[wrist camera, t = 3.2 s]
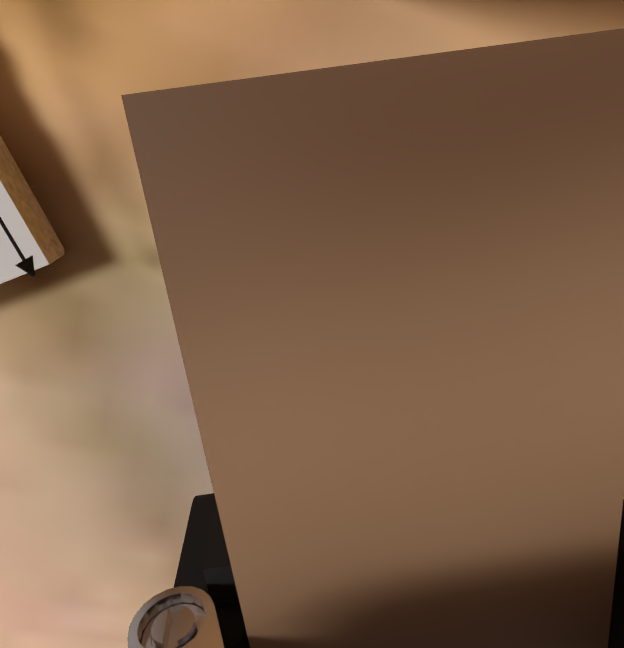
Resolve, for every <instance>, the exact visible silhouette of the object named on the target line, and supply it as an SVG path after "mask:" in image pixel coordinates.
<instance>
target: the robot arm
mask: <svg viewBox="0 0 624 648" xmlns="http://www.w3.org/2000/svg"><path fill="white" fill-rule="evenodd" d="M128 648H250V645H249V641H248V636H247V632H246V628H245V623H244V619H243V615H242V611H241V606H240V602H239V598H238V593H237V589H236V585H235V581H234V576H233V572H232V568H231V563H230V559H229V555H228V550H227V546H226V542H225V538H224V533H223V529H222V525H221V520H220V516H219V512H218V508H217V503H216V499H215V495H214V493H213V494H206V495H199V496H195V497H194V499H193V502H192V507H191V511H190V516H189V520H188V525H187V529H186V534H185V539H184V543H183V548H182V552H181V557H180V561H179V566H178V570H177V575H176V579H175V584H174V588H171V589H167V590H165V591H163V592H161V593H159V594H157V595H155V596H154V597H153V598H151V599H150V600H149V601H147V602H146V603H145V604H144V605H143V606H142V607H141V608H140V610H139V611H138V612H137V613H136V614H135V616H134V618H133V620H132V622H131V624H130V626H129V632H128ZM608 648H624V499H623V507H622V516H621V526H620V535H619V545H618V554H617V564H616V573H615V583H614V592H613V602H612V611H611V621H610V630H609V640H608Z"/></svg>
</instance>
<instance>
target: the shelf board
mask: <svg viewBox="0 0 624 648" xmlns="http://www.w3.org/2000/svg"><path fill="white" fill-rule="evenodd" d="M121 96H122V100H123V105H124V109H125V113H126V117H127V122H128V126H129V130H130V135H131V139H132V143H133V147H134V152H135V156H136V160H137V165H138V169H139V173H140V177H141V182H142V186H143V190H144V195H145V199H146V203H147V207H148V212H149V216H150V220H151V225H152V229H153V233H154V238H155V242H156V246H157V250H158V255H159V259H160V263H161V268H162V272H163V276H164V280H165V285H166V289H167V293H168V298H169V302H170V306H171V310H172V315H173V319H174V323H175V328H176V332H177V336H178V340H179V345H180V349H181V353H182V358H183V362H184V366H185V370H186V375H187V379H188V383H189V388H190V392H191V396H192V400H193V405H194V409H195V413H196V418H197V422H198V426H199V430H200V435H201V439H202V443H203V448H204V452H205V456H206V460H207V465H208V469H209V473H210V478H211V482H212V486H213V490H214V495H215V499H216V503H217V508H218V512H219V516H220V520H221V525H222V529H223V533H224V538H225V542H226V546H227V550H228V555H229V559H230V563H231V568H232V572H233V576H234V581H235V585H236V589H237V593H238V598H239V602H240V606H241V611H242V615H243V619H244V623H245V628H246V632H247V636H248V641H249V645H250V648H608V640H609V630H610V621H611V611H612V602H613V592H614V583H615V573H616V564H617V554H618V545H619V535H620V526H621V516H622V507H623V497H624V29H616V30H609V31H601V32H594V33H586V34H579V35H571V36H564V37H556V38H549V39H541V40H534V41H526V42H518V43H511V44H503V45H496V46H488V47H481V48H473V49H466V50H458V51H451V52H443V53H436V54H428V55H421V56H413V57H406V58H398V59H390V60H383V61H375V62H368V63H360V64H353V65H345V66H338V67H330V68H323V69H315V70H308V71H300V72H293V73H285V74H278V75H270V76H263V77H255V78H247V79H240V80H232V81H225V82H217V83H210V84H202V85H195V86H187V87H180V88H172V89H165V90H157V91H150V92H142V93H135V94H127V95H121Z"/></svg>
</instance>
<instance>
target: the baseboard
mask: <svg viewBox="0 0 624 648" xmlns="http://www.w3.org/2000/svg"><path fill="white" fill-rule="evenodd" d="M64 254H65V253H64V247H63V246H62V244H61V242H60V240H59V239H58V237H57V235H56V233H55V231H54V230H53V228H52V226H51V224H50V223H49V221H48V219H47V217H46V216H45V214H44V212H43V210H42V208H41V207H40V205H39V203H38V201H37V200H36V198H35V196H34V194H33V192H32V191H31V189H30V187H29V185H28V184H27V182H26V180H25V178H24V176H23V175H22V173H21V171H20V169H19V168H18V166H17V164H16V162H15V160H14V159H13V157H12V155H11V153H10V152H9V150H8V148H7V146H6V144H5V143H4V141H3V139H2V137H1V136H0V284H2V283H4V282H7V281H9V280H12V279H14V278H17V277H19V276H22V275H24V274H27V273H28V274H29V275H31V276H35V272H34V270H37V269H39V268H42V267H44V266H47V265H49V264H51V263H52V262H54V261H55V260H57V259H58V258H60V257H61V256H63V255H64Z"/></svg>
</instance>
